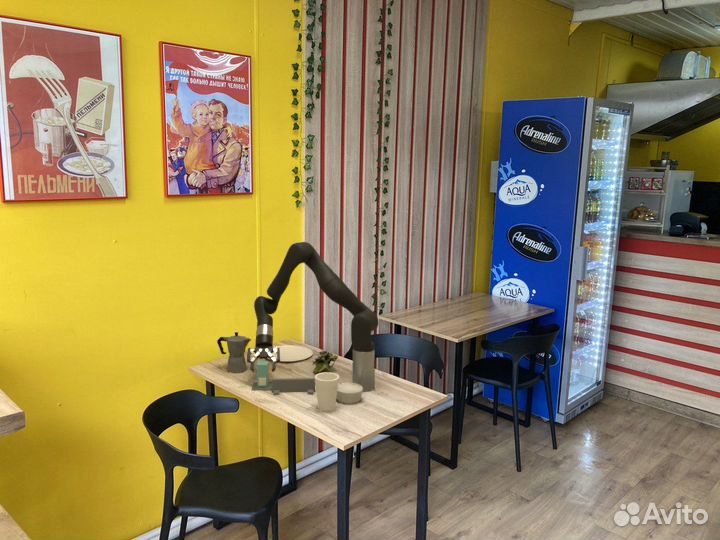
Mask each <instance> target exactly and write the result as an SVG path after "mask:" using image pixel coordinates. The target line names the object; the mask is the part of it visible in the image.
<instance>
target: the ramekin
mask: <svg viewBox="0 0 720 540" xmlns="http://www.w3.org/2000/svg"><path fill="white" fill-rule="evenodd" d="M362 391H363V387H362V386H360V385H358V384H355V383H352V382H342V383H339V384H338V390H337V397H336V401H338V402H339V403H342V404H343V405H345V404H347V405H351V404H356V403H357V404H358V403H359V402H360V400H361V399H362V393H363V392H362Z"/></svg>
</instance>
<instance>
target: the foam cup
mask: <svg viewBox="0 0 720 540" xmlns="http://www.w3.org/2000/svg"><path fill="white" fill-rule="evenodd" d="M314 378H315V392H316V398H317V399H316V400H317V406H318V410H319V411H320V412H325V413H326V412H333V411H334V410H335V408H336V402H337V390H338V384H340V375H339V374H338V373H335V372H331V373H330V371H329V372H318V373H317V374H315V376H314Z"/></svg>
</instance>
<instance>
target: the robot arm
mask: <svg viewBox="0 0 720 540" xmlns="http://www.w3.org/2000/svg"><path fill="white" fill-rule="evenodd" d="M300 264H305V265H306V266H307V268H309V269H310V270H311V272H312V273H313V274H314V276H315V279H316V281H317V284H318V286H319V288H320V289H321V291H322V292H323V293H324V294H325V296H326V297H328V298H329V299H330V300H331V301H332V302H333V303H335V304H337V305H339V306H340V307H342V308H344V309H346V310H347V311H348V312H349V313H350V314H351V315H352V316H353V317H352V320H351V322H350V338H351V340H350V341H351V345H352V368H351V369H352V371H351V375H352V376H351V378H352V379H351V383H355V384H358V385H360V386H362V387H363V391H362V393H363V392H369V391H373V390H375V386H376V385H375V384H376V383H375V379H376V377H375V376H376V368H375V345H376V344H375V342H374V341H372V332H374V331H375V330H377V328H378V327H379V319H378V316H377V314H376V313H375V312H374V311H373V310H372V309H370V308H369V307H368V306H367V305H366V304H365V303H364V302H362V300H360V299H359V297H357V296H356V294H355V293H354V292H353V291H352V290H351V289H350V288H349V286H347V285H346V283H345V282H344V281H343V280H342V278H340V277H339V275H338V274H337V273H335V271H333V269H332V268H331V267H330V266H329V265H328V264H327V263H326V262H325V260H324V259H323V258H322V257H321V256H320V254H319V253H318V252H317V250H316V249H315V247H314V246H313V245H312V244H311V243H309V242H307V241H302V242H301V241H299V242H294V243H292V244H290V246H289V248H288V250H287V251H286V254H285V257H284V259H283V261H282V263H281V265H280V268H279V269H278V272H277V274H276V275H275V277H274V278H273V279H272V281H271V283H270V284H269V285H268V288H267V289H266V294H267V296H268V297H266V296H262V295H259V296H257V297H256V299H255V300H254V303H253V307H254V308H253V309H254V312H255V317H256V320H257V322H256V331H255V346H254V348H251V347H248V348H247V351H246V353H247V354H246V364H247V363H248V364H250V371H251V372H255V363H256V362H258V361H259V359H260V360H263V359H265V360H269V359H270V360H269V361H270V362H272V363H271V364H272V366H271V371H272V372H275V371H276V370H277V369H276V368H277V363H281V362H280V348H277V349H273V347H274V344H273V343H274V326H273V325H274V319H273V317H272V316H271V315H273V314H275V313H276V311H277V309H278V306H279V303H280V300H281V297H282V295H283V294H284V293H285V292H286V290H287V288H288V287H289V284H290V280H291V278H292V277H291V276H292V274H293V272H294V270H296V269H297V267H298V266H299V265H300ZM269 297H270V298H269ZM273 352H275V353H276V354H277V359H275V358H274V357H273V355H272V353H273ZM253 353H254V355H253ZM251 355H253V357H252V358H251ZM267 358H269V359H267Z"/></svg>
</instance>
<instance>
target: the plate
mask: <svg viewBox="0 0 720 540" xmlns="http://www.w3.org/2000/svg"><path fill="white" fill-rule="evenodd" d="M277 348H280V362H279V363H292V362H293V363H294V362H299V361H303V360H306V359H309V358H311V357H312V356H313V353H314V352H313V351H312V350H311V349H310V348H309V347H306V346H301V345H278V346H277V345H276V346H273V349H277ZM272 355H273V357H274V358H275V359H277V354H276V353H275V352H273V353H272ZM266 360H269V361H271V360H270V359H269V358H267V359H266Z"/></svg>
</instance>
